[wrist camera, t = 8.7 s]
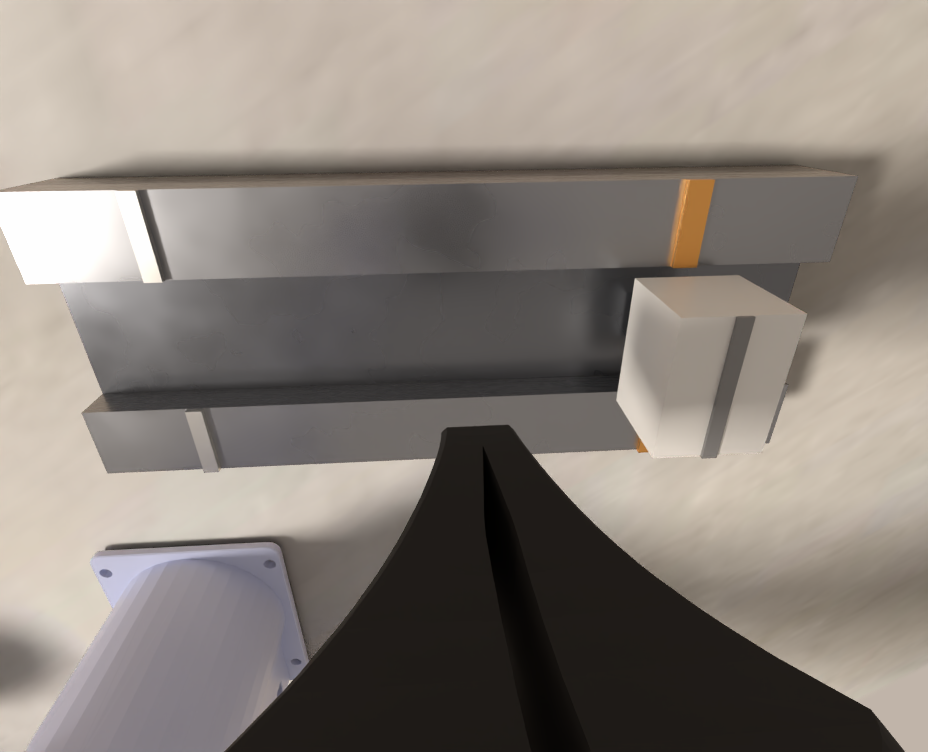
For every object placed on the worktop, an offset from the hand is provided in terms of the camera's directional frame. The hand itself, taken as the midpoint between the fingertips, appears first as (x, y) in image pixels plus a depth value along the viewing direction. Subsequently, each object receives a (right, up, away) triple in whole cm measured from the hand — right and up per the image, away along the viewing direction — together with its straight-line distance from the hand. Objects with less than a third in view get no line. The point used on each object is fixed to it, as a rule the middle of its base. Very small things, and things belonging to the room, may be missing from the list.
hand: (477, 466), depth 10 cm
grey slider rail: (-1, +4, +8) cm, 9 cm away
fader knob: (+6, +4, +7) cm, 10 cm away
